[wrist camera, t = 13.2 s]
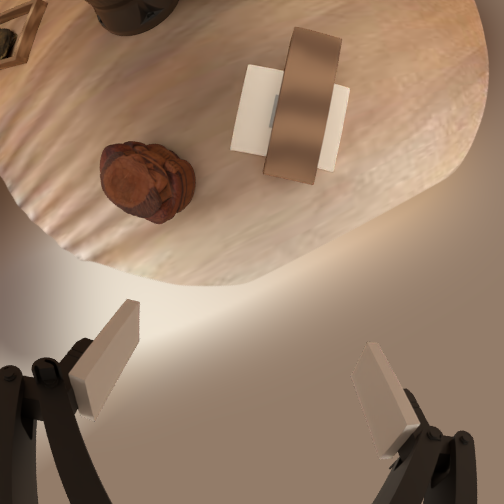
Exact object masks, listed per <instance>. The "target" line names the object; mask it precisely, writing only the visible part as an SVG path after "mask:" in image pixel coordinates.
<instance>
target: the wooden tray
mask: <svg viewBox="0 0 504 504" xmlns="http://www.w3.org/2000/svg"><path fill="white" fill-rule="evenodd" d="M47 4H48V3H46V2H44V1H42V0H32V1H29V2H26V3H24V4H21V5H19V6H16V7H14V8H12V9H9V10H7V11H5V12H3V13H1V14H0V24H2V23H4V22H7V21H9V20H11V19H14V18H16V17H19V16H22V15H24V14H27V13H29V14H28V17H27V19H26V22H25V24H24V27H23V30H22V32H21V35H20V38H19V41H18V44H17V47H16V50H15V53H14V56H13V57H9V58H6V59H3V60H0V70H1V69H4V68H8V67H12V66H16V65H20V64H24V63H27V61H28V57H29V54H30V51H31V47H32V44H33V41H34V38H35V35H36V32H37V30H38V27H39V24H40V22H41V19H42V16H43V14H44V12H45V9H46V7H47Z"/></svg>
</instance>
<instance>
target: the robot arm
mask: <svg viewBox="0 0 504 504" xmlns="http://www.w3.org/2000/svg"><path fill="white" fill-rule="evenodd" d="M85 1H86V2H88V3H89V4H91V5H92V6H93V7H94V10H95V12H96V14H97V17H98V20H99V22H100V24H101V25H102V26H103V27H104V28H105V29H107V30H108V31H109V32H111V33H113V34H116V35H120V36H130V35H135V34H139V33H142V32H145V31H147V30H149V29H151V28H153V27H155V26H156V25H158V24H159V23H160V22H162V21H163V20H164V19H165V18H166V17H167V16H168V15H169V14H170V13H171V12H172V11H173V9H174V8H175V6H176V4H177V2H178V0H85ZM139 307H140V302H137V301H133V300H129V299H127V300H126V301H125V302H124V303H123V305H122V306H121V307H120V308H119V310H118V311H117V312H116V313H115V315H114V316H113V317H112V318H111V319H110V321H109V322H108V323H107V324H106V326H105V327H104V328H103V330H102V331H101V332H100V333H99V334H98V336H97V337H96V338H95V340H94V341H93V340H90V339H88V338H83V339H81V340H79V341H77V342H76V343H75V344H74V346H73V347H72V348H71V350H70V351H69V352H68V353H67V355H65V357H64V358H63V359H62V360H61V362H60V363H58V362H57V361H56V360H55V359H52V358H40V359H38V360H36V361H35V362H34V363H33V365H32V373H33V376H34V377H27V376H23V375H22V372H21V370H20V369H19V368H17V367H16V366H12V365H8V366H5V367H2V368H1V369H0V504H38V496H37V481H36V427H37V420H40V421H44V425H45V429H46V433H47V437H48V440H49V443H50V448H51V450H52V454H53V457H54V461H55V464H56V467H57V470H58V473H59V476H60V478H61V481H62V484H63V486H64V489H65V491H66V494H67V497H68V499H69V501H70V504H112V502H111V500H110V499H109V497H108V495H107V493H106V491H105V489H104V487H103V485H102V483H101V480H100V478H99V476H98V474H97V472H96V470H95V467H94V465H93V463H92V460H91V458H90V456H89V453H88V451H87V449H86V446H85V443H84V441H83V438H82V435H81V433H80V430H79V427H78V424H77V421H76V418H75V415H74V414H75V413H76V411H77V409H78V410H79V413H80V416H82V417H84V418H87V419H89V420H92V421H94V422H95V421H96V419H97V417H98V415H99V413H100V411H101V409H102V408H103V406H104V404H105V402H106V400H107V398H108V396H109V394H110V393H111V391H112V389H113V387H114V385H115V383H116V382H117V380H118V378H119V376H120V374H121V373H122V371H123V369H124V367H125V365H126V364H127V362H128V360H129V358H130V357H131V355H132V353H133V351H134V350H135V348H136V346H137V344H138V342H139ZM351 379H352V382H353V385H354V388H355V390H356V393H357V396H358V399H359V402H360V405H361V407H362V410H363V413H364V416H365V419H366V422H367V425H368V428H369V431H370V433H371V437H372V440H373V443H374V446H375V449H376V452H377V455H378V458H379V460H380V459H389V458H392V457H393V456H394V455H395V454H396V453H397V452H398V453H399V456H400V457H399V458H398V459H397V460H396V461H395V462H394V463H393V464H392V465H391V466H390V468H389V469H391V468H392V467H393V468H392V470H391V472H390V474H389V475H388V478H387V479H386V481H385V483H384V485H383V486H382V488H381V490H380V491H379V493H378V495H377V497H376V498H375V500H374V501H373V503H372V504H421V503H422V500H423V498H424V501H423V504H477V473H476V459H475V447H474V440H473V437H472V436H471V435H470V434H469V433H468V432H466V431H458V432H457V433H456V434H455V435H454V437H450V436H443V434H442V432H441V431H440V430H439V429H438V428H436V427H433V426H429V424H428V422H427V420H426V418H425V416H424V414H423V412H422V410H421V409H420V408H419V405H418V403H417V401H416V399H415V397H414V395H413V394H412V393H411V392H410V391H409V390H408V389H403V388H402V386H401V385H400V383H399V381H398V379H397V377H396V375H395V373H394V371H393V370H392V368H391V366H390V364H389V362H388V361H387V359H386V357H385V355H384V353H383V351H382V349H381V348H380V346H379V344H378V343H374V342H367V343H366V345H365V347H364V349H363V351H362V354H361V356H360V358H359V360H358V362H357V364H356V366H355V368H354V370H353V372H352V374H351Z"/></svg>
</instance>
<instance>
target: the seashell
mask: <svg viewBox="0 0 504 504" xmlns="http://www.w3.org/2000/svg"><path fill="white" fill-rule="evenodd" d="M16 38H17V34H13V33H12V32H10V29H1V28H0V60H3V59H4V58H5V57H6V56H7V54H8V52H9V50H10V48H11V47H12V45H13V44H14V42H15V40H16Z"/></svg>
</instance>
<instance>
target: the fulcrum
mask: <svg viewBox="0 0 504 504" xmlns="http://www.w3.org/2000/svg"><path fill="white" fill-rule="evenodd" d="M283 74H284V71H282V70H277V69H272V68H267V67H261V66H255V65H249V64H248V67H247V72H246V76H245V81H244V85H243V90H242V94H241V99H240V103H239V108H238V113H237V117H236V122H235V127H234V132H233V137H232V142H231V147H230V150H234V151H240V152H245V153H251V154H256V155H261V156H266V154H267V150H268V145H269V140H270V135H271V130H272V126H273V121H274V116H275V111H276V107H277V102H278V97H279V93H280V88H281V83H282V78H283ZM349 92H350V88H347V87H344V86H341V85H337V84H334V88H333V94H332V99H331V104H330V109H329V114H328V119H327V124H326V129H325V134H324V139H323V143H322V148H321V153H320V157H319V162H318V167H317V168H319V169H323V170H327V171H331V172H333V171H334V167H335V162H336V158H337V153H338V149H339V144H340V139H341V134H342V129H343V124H344V119H345V114H346V109H347V103H348V98H349Z"/></svg>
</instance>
